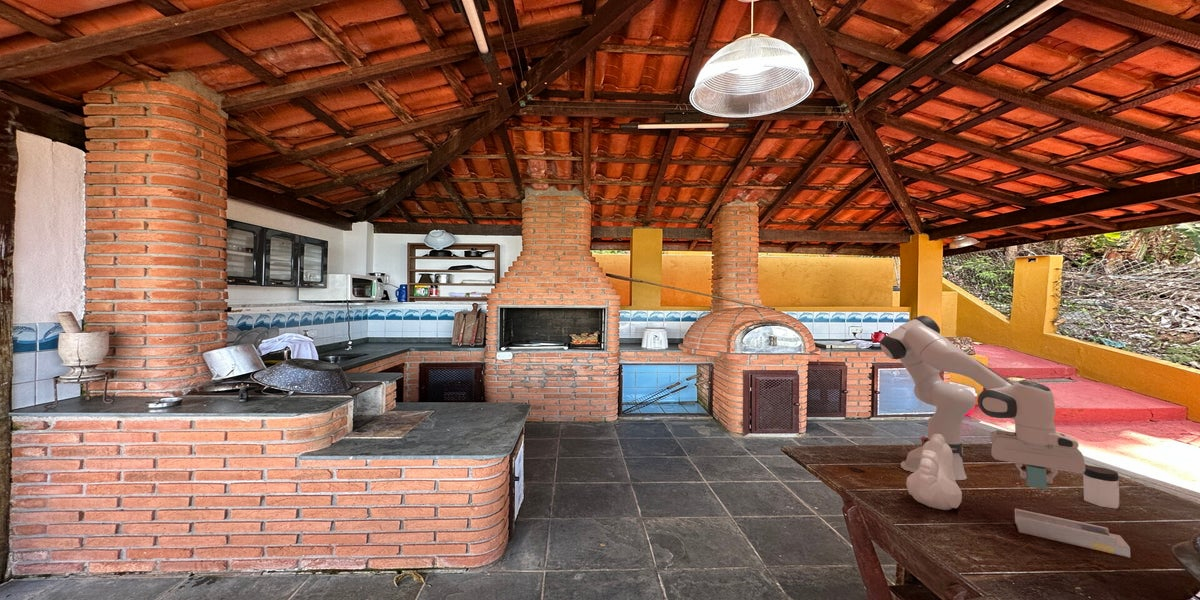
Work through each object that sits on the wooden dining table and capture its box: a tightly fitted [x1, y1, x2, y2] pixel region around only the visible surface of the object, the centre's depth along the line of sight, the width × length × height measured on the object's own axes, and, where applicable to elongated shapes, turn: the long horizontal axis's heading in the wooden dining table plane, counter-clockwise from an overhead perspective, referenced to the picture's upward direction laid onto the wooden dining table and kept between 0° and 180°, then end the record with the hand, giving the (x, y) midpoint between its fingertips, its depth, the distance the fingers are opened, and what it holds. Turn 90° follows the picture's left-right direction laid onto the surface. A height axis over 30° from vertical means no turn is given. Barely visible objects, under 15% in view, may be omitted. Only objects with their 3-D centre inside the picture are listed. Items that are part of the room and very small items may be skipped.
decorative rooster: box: [905, 434, 963, 511], centre depth 151 cm, size 25×16×25 cm, turn 119°
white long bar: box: [1014, 508, 1131, 559], centre depth 127 cm, size 22×8×6 cm, turn 52°
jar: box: [1082, 465, 1120, 510], centre depth 153 cm, size 9×8×12 cm
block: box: [1025, 464, 1048, 490], centre depth 131 cm, size 4×4×6 cm
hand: (1036, 480), depth 131 cm, fingers closed on block, 4 cm apart
